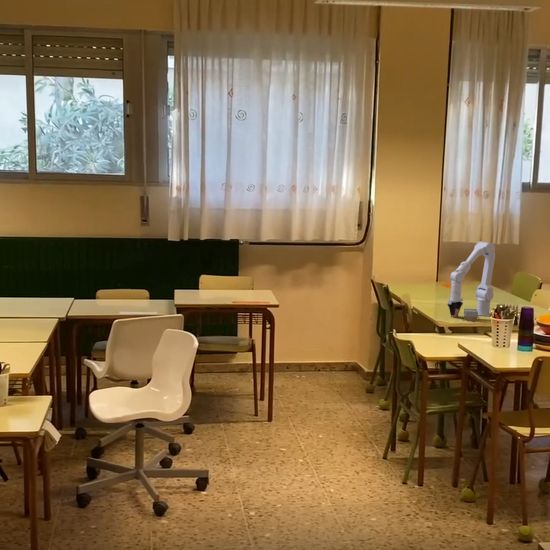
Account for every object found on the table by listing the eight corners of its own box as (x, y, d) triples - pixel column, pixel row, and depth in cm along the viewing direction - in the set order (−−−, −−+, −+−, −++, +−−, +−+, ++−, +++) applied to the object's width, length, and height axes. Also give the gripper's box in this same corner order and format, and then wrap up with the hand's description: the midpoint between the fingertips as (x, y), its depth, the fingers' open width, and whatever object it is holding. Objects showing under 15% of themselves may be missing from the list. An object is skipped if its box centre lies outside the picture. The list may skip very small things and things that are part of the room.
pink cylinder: (450, 315, 412) (450, 308, 411) (458, 316, 411) (458, 309, 410) (450, 317, 408) (451, 310, 407) (458, 318, 407) (458, 310, 406)
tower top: (463, 313, 406) (464, 308, 405) (476, 314, 405) (476, 309, 404) (465, 316, 399) (465, 311, 399) (477, 317, 398) (478, 311, 398)
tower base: (464, 318, 407) (464, 313, 406) (476, 319, 405) (476, 314, 405) (464, 321, 400) (465, 316, 399) (477, 322, 398) (477, 317, 398)
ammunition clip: (517, 324, 393) (518, 304, 391) (517, 325, 391) (519, 304, 389) (497, 323, 395) (499, 302, 393) (497, 324, 393) (499, 303, 391)
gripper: (455, 289, 415) (454, 311, 417) (443, 292, 404) (442, 315, 406) (466, 291, 410) (465, 313, 412) (454, 294, 399) (453, 317, 402)
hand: (454, 314), depth 409 cm, fingers closed on pink cylinder, 4 cm apart
